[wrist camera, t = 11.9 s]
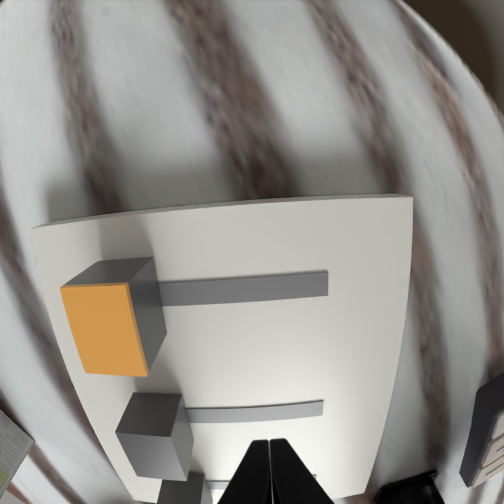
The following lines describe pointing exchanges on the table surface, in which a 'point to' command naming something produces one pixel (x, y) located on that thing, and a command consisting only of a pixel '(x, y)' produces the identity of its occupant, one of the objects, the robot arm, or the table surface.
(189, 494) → the block
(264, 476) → the robot arm
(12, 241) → the table surface
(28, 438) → the light bulb box
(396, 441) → the table surface
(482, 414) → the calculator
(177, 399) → the block
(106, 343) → the block
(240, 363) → the breaker panel
